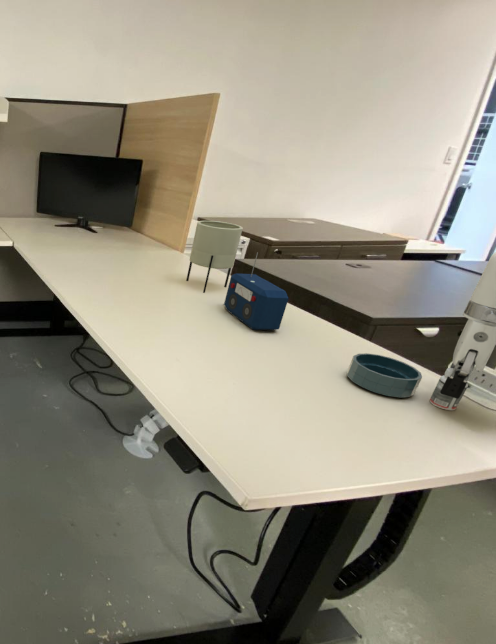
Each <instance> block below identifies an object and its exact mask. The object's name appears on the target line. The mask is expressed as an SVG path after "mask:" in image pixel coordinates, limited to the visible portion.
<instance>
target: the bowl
mask: <svg viewBox="0 0 496 644" xmlns="http://www.w3.org/2000/svg"><path fill="white" fill-rule="evenodd" d="M346 377H347V378H349V380H350V382H353V383H354V384H356V385H358V386H359V387H361V388H363V389H365V390H367V391H370V392H372V393H375V394H378V395H382V396H386V397H393V398H411V397H412V396H414V394H415V393H416V391H417V389H418V387H419V385H420V383H421V381H422V379H423V376H422V372H420V371H419V370H418V369H417V368H415V367H414V366H412V365H410V364H408V363H406V362H404V361H402V360H398V359H396V358H394V357H393V358H392V357H390V356H384V355H381V354H376V353H367V352H365V353H357V354H355V355H353V356H352V358H351V360H350V364H349V366H348V368H347V371H346Z"/></svg>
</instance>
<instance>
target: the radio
mask: <svg viewBox="0 0 496 644" xmlns="http://www.w3.org/2000/svg"><path fill="white" fill-rule="evenodd" d="M255 255H256V256H255V259H254V262H253V266H252V271H251V273H233V274H232V275H230V278H229V282H228V285H227V286H228V287H227V291H226V293H225V294H226V295H225V299H224V303H223V305H224V307H225V310H226V311H227V312H229V313H230V314H231V315H233V316H234V317H235V318H236V319H238V320H239V321H240V322H242V323H243V324H245V326H247V327H248V328H249V329H251V330H252V331H276V330H280V327H281V325H282V321H283V318H284V314H285V311H286V308H287V305H288V302H289V296H288V293H287V292H286V290H284V289H283V288H281V287H279V286H277V285H275V284H274V283H272V282H271V281H269V280H266V279H265V278H262V276H260V275H258V274H256V273H254V270H255V265H256V262H257V258H258V255H259V252H258V251H257V252H256V254H255Z"/></svg>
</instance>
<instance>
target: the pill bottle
mask: <svg viewBox="0 0 496 644" xmlns="http://www.w3.org/2000/svg"><path fill="white" fill-rule="evenodd" d="M453 369H454V368H451V367H447V368H446V370H445V372H444V374H443V375H441V376H440V377H439V379H438V381H437V383H436V386H435V388H434V389H433V392H432V394H431V395H430V397H429V403H430V404H431V405H433V406H434V407H436V408H439V409H440V410H441V409H442V410H446V411H455V410H457V408H458V407H459V404H460V402H461V400H462V399H463V397H464V395H465V394H466V391H467V389H468V387H469V383H468V382H467V384H466V386H465V388H464V390H463V392H462V394H461V396H460V398H458V399H456V398H453V397H450V396H447V395H443V394H441V393H440V391H441V389H442V387H443V385H444V383H445V381H446V379H447V377H448V376H449V377H450V375H451V373H452V371H453ZM457 370H460V369H457ZM470 378H471V374H470V376H469V378H468V381H469V380H470Z"/></svg>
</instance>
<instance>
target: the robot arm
mask: <svg viewBox="0 0 496 644" xmlns="http://www.w3.org/2000/svg"><path fill="white" fill-rule="evenodd" d="M462 316H463V317H464V318H466V319H467V320H466V322H465V325H464V327H463V329H462V331H461V333H460V335H459V337H458V340H457V342H456V344H455V347H454V351H453V353H452V354H453V355H452V364H451V365H450V368H454V369H453V371H452V373H451V375H450V377H449V376H448V377H447V379H446V381H445V383H444V385H443V387H442V389H441V391H440V393H441V394H443V395H447V396H450V397H453V398H456V399H458V398H460V396H461V394H462V392H463V390H464V388H465V386H466V384H467V383H468V382H469V380H468V378H469V376H470V375H471V374H472V372H473V370H474V369H475V370H476V371H477V372H478V373H481V372H483V371H484V370H485V368H486V366H487V363H488V362H489V359H490V358H491V356H492V353H493V351H494V349H495V347H496V252H494V253H493V254H492V255H491V256H490V257H489V259H488V262H487V263H486V266H485V268H484V270H483V272H482V274H481V276H480V278H479V280H478V282H477V284H476V286H475V288H474V290H473V291H472V294H471V296H470V298H469V301H468V302H467V304H466V306H465V309H464V311H463V312H462ZM457 369H460V370H457ZM470 377H471V376H470Z"/></svg>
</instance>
